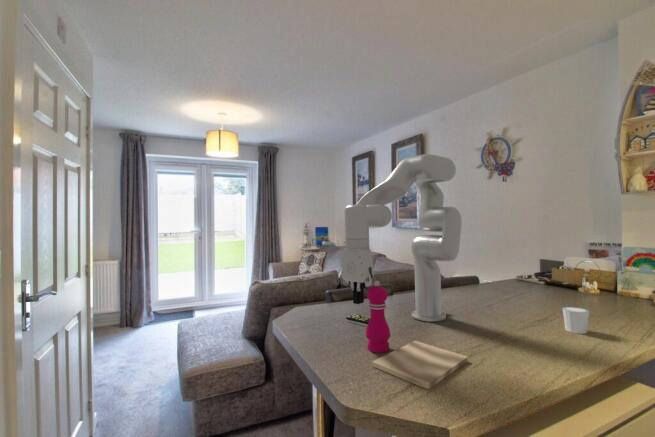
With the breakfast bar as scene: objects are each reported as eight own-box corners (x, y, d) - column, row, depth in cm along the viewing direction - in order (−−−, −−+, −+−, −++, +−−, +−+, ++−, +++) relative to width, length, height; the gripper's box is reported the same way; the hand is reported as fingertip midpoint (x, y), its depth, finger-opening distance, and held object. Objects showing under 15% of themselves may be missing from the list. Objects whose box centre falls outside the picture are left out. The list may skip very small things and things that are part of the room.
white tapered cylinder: (583, 328, 106) (583, 307, 106) (593, 335, 100) (592, 313, 100) (559, 326, 109) (559, 305, 109) (567, 333, 102) (567, 311, 102)
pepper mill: (393, 345, 95) (391, 279, 95) (387, 355, 88) (385, 283, 89) (370, 342, 98) (368, 277, 98) (362, 351, 91) (361, 282, 92)
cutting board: (414, 344, 96) (414, 340, 96) (467, 361, 84) (467, 356, 84) (372, 366, 82) (372, 361, 82) (428, 389, 70) (428, 384, 70)
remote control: (373, 329, 111) (373, 323, 111) (344, 322, 119) (344, 316, 119) (382, 324, 116) (382, 319, 116) (354, 318, 124) (354, 312, 124)
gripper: (332, 244, 102) (333, 301, 102) (367, 246, 91) (368, 310, 91) (348, 242, 107) (349, 297, 107) (383, 244, 96) (385, 305, 96)
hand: (358, 302), depth 99 cm, fingers closed
